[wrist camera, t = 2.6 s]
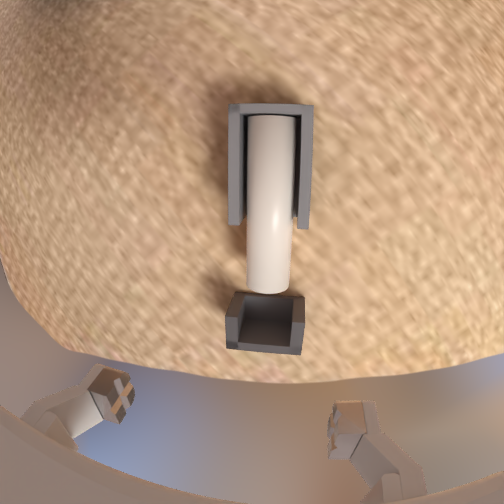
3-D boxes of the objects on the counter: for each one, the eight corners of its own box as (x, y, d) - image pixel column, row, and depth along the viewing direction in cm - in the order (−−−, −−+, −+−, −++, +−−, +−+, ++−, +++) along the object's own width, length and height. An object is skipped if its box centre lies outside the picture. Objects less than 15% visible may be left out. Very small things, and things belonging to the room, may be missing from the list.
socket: (235, 292, 32) (225, 316, 28) (304, 297, 31) (304, 322, 27) (235, 321, 34) (226, 348, 29) (301, 327, 33) (300, 355, 28)
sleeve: (240, 110, 26) (228, 104, 21) (310, 112, 25) (313, 105, 20) (239, 211, 29) (228, 225, 25) (306, 215, 28) (308, 229, 24)
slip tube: (251, 119, 25) (244, 115, 21) (296, 120, 24) (296, 116, 20) (249, 273, 30) (243, 291, 26) (289, 276, 29) (288, 295, 26)
